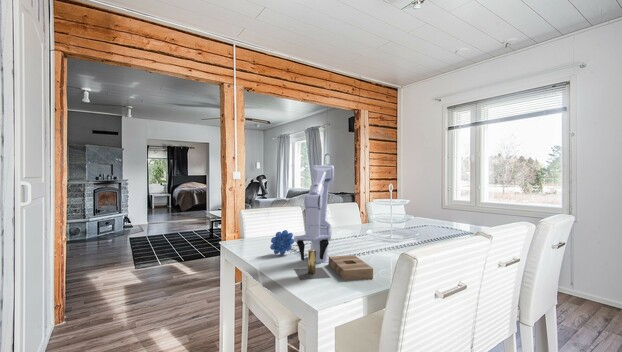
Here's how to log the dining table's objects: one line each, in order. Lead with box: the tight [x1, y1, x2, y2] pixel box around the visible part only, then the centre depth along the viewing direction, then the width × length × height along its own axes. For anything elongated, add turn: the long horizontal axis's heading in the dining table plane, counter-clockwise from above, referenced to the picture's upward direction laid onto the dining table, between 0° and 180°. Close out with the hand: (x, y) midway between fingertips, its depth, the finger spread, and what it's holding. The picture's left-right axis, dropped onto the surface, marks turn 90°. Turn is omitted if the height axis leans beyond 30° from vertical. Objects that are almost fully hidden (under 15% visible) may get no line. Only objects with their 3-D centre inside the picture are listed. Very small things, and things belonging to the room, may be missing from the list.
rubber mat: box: [293, 266, 331, 281], centre depth 114 cm, size 12×12×1 cm
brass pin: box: [307, 249, 317, 275], centre depth 114 cm, size 3×3×9 cm
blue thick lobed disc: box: [270, 229, 295, 256], centre depth 141 cm, size 12×7×12 cm, turn 100°
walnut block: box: [328, 254, 374, 281], centre depth 118 cm, size 18×12×4 cm, turn 15°
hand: (311, 259), depth 114 cm, fingers open, 7 cm apart
